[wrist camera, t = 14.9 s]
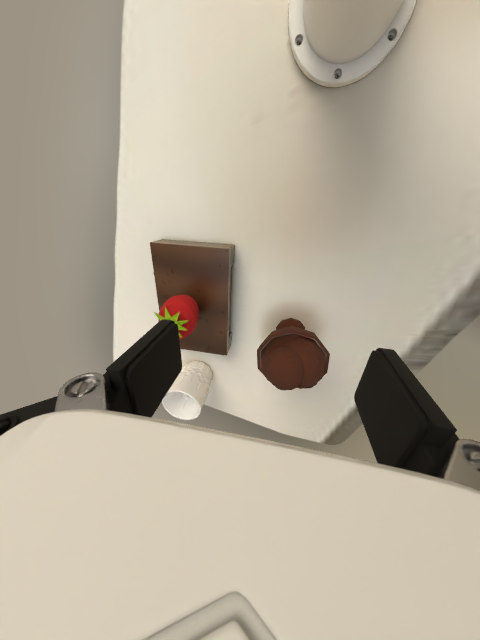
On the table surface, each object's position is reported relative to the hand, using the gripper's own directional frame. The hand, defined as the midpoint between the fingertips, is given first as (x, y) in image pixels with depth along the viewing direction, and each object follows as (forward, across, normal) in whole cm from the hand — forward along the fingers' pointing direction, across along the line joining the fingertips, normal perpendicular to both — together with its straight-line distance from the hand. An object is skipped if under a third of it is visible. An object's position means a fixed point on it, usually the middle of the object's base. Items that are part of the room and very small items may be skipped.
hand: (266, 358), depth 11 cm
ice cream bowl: (+28, -4, +14) cm, 32 cm away
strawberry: (+24, +14, +9) cm, 30 cm away
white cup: (+28, +15, +28) cm, 43 cm away
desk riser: (+28, +14, +9) cm, 33 cm away
